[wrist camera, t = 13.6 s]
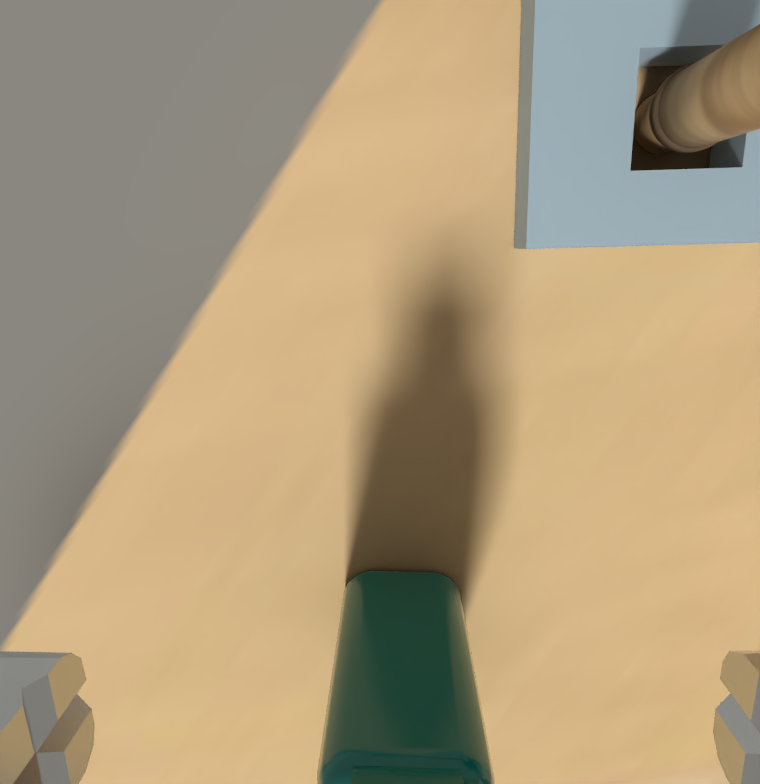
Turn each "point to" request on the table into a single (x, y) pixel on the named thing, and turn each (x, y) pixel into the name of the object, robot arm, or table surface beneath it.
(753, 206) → the seat board
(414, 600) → the teal bottle
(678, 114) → the peg
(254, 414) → the table surface
